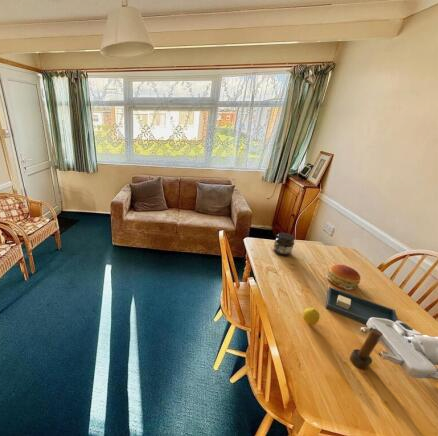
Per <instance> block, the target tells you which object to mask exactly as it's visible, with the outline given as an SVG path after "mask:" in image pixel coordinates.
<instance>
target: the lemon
mask: <svg viewBox="0 0 438 436" xmlns="http://www.w3.org/2000/svg"><path fill="white" fill-rule="evenodd" d="M302 319H303V320H304V322H305V323H307V324H308V325H316V324H317V323H318V322H319V321H320V313H319V312H318V310H316V309H315V308H314V307H308V308H306V309H305V310H303V313H302Z"/></svg>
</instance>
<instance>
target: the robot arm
mask: <svg viewBox="0 0 438 436" xmlns="http://www.w3.org/2000/svg"><path fill="white" fill-rule="evenodd" d="M359 329H360V332H361V333H362V334H363V335H369V333H370V332H371V331H372V329H377V330H379V331H380V332H381V333H382V334H383V335H382V336H381V338H380V340H379V341H378V342H380V343H381V344H382V346H383V347H384V348H385V349H386V351H383V350H382V351H380V352H379V353H378V355H379V357H381V359H382V360H387V361H388V362H391V363H393V364H395V365H399V367H400V368H401V369H402V370H403V371H404V373H405V374H406V375H408V376H409V377H411V378H413V379H432V380H438V367H437V366H438V336H430V335H427V334H422V333H421V332H420V331H417V330H416V329H413V328H412V327H411V326H409V325H408V324H406V323H405V322H403V321H401V320H397V321H396V322H393V321H391V320H388V319H382V318H374V317H372V318H370V319H369V320H368V321H367V323H366V325H365V326H362V327H360V328H359Z"/></svg>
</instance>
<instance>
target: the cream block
mask: <svg viewBox="0 0 438 436" xmlns="http://www.w3.org/2000/svg"><path fill="white" fill-rule="evenodd" d="M350 304H351V299H348V298H346V297H343V296H341V295H339V296H338V298H337V301H336V305H337V306H340V307H342V308H345V309H347V310H348V309H349V307H350Z"/></svg>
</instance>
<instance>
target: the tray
mask: <svg viewBox="0 0 438 436" xmlns="http://www.w3.org/2000/svg"><path fill="white" fill-rule="evenodd" d="M326 294H327V295H326V301H325V310H328V311H330V312H333V313H337V314H338V315H340V316H344V317H345V318H348V319H351V320H353V321H356V322H358V323H361V324H364V325H365V326H367V325H366V323H367V321H368V320H369V319H370V318H372V317H374V318H382V319H388V320H391V321H393V322H396V321H398V317H397V312H396V310H395V309H393V308H391V307H388V306H384V305H382V304H379V303H376V302H373V301H370V300H368V299H365V298H361V297H359V296H356V295H353V294H351V293H347V292H344V291H341V290H339V289H336V288H333V287H330V286H329V287H328V289H327V293H326ZM339 295H341V296H343V297H346V298H348V299H351V304H350V307H349V309H348V310H347V309H345V308H342V307H340V306H337V305H336V301H337V298H338V296H339Z"/></svg>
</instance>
